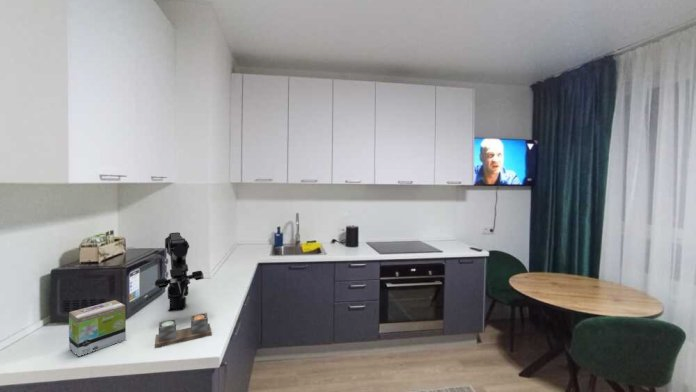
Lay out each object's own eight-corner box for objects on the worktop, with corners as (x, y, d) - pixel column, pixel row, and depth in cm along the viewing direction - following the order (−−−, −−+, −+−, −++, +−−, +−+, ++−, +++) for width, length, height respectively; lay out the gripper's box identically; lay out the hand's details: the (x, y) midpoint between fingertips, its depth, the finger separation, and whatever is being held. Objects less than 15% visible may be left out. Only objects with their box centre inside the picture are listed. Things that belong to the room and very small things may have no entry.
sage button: (160, 331, 118) (159, 326, 118) (163, 326, 122) (163, 321, 122) (171, 330, 119) (171, 325, 119) (175, 325, 123) (174, 320, 123)
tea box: (78, 358, 108) (77, 318, 107) (68, 350, 113) (67, 311, 113) (126, 340, 121) (125, 304, 120) (115, 333, 126) (115, 298, 125)
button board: (154, 348, 115) (154, 330, 115) (155, 338, 122) (155, 321, 122) (211, 335, 125) (211, 318, 125) (209, 326, 132) (209, 311, 132)
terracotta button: (192, 324, 124) (192, 319, 124) (194, 320, 128) (194, 315, 128) (203, 323, 125) (203, 318, 125) (205, 318, 129) (205, 314, 129)
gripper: (150, 264, 129) (151, 300, 122) (198, 255, 135) (201, 289, 129) (157, 270, 138) (159, 305, 132) (202, 261, 145) (205, 294, 139)
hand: (181, 298), depth 133 cm, fingers closed
